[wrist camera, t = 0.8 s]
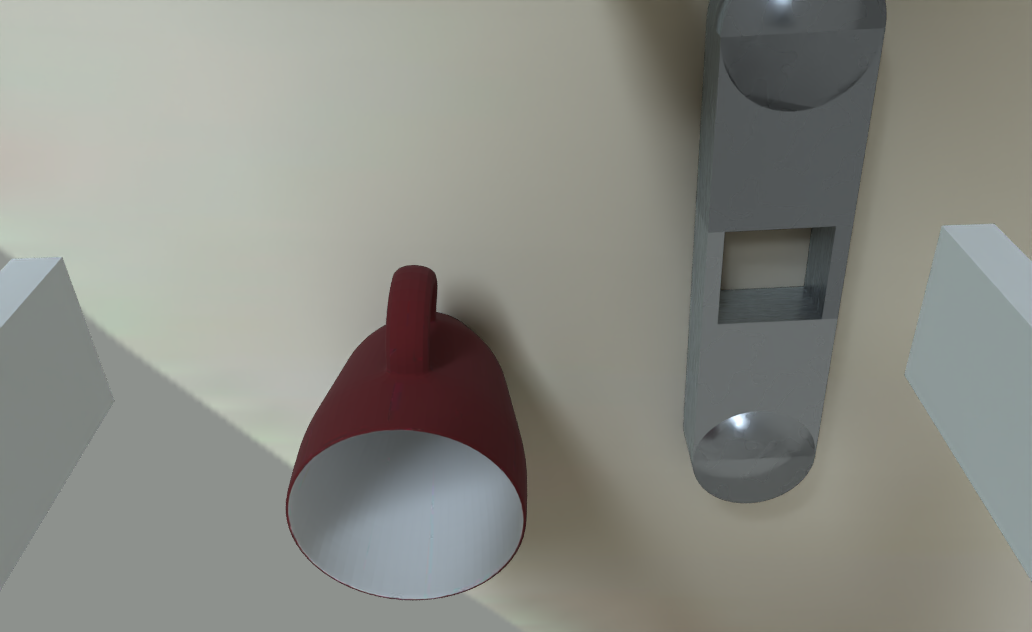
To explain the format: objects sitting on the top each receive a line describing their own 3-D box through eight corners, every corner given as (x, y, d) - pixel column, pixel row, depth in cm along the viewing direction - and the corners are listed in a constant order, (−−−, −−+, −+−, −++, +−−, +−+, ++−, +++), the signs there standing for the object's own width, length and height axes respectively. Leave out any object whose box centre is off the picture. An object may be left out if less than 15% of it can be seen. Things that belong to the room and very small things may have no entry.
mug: (300, 223, 35) (231, 375, 26) (504, 201, 34) (501, 348, 26) (358, 430, 40) (316, 610, 32) (534, 414, 40) (539, 592, 31)
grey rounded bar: (711, -64, 29) (726, -49, 27) (871, -74, 29) (899, -60, 27) (680, 467, 41) (689, 505, 39) (792, 462, 41) (807, 500, 39)
